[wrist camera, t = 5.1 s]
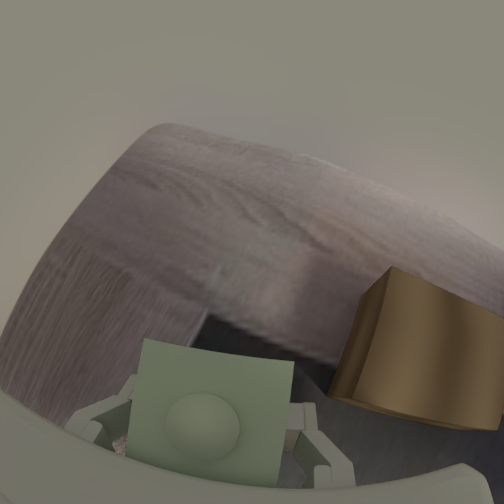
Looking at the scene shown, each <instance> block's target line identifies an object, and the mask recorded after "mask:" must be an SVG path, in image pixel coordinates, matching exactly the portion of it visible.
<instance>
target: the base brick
mask: <svg viewBox="0 0 504 504" xmlns="http://www.w3.org/2000/svg"><path fill="white" fill-rule="evenodd" d="M326 396H327V397H330V398H333V399H336V400H339V401H342V402H345V403H348V404H352V405H355V406H358V407H361V408H365V409H368V410H372V411H375V412H379V413H382V414H386V415H390V416H394V417H398V418H402V419H406V420H410V421H414V422H419V423H424V424H428V425H433V426H438V427H444V428H449V429H457V430H486V431H493V430H498V428H499V424H500V421H501V417H502V413H503V409H504V318H502V317H500V316H498V315H496V314H494V313H492V312H490V311H488V310H486V309H484V308H482V307H480V306H478V305H476V304H473V303H471V302H469V301H467V300H465V299H463V298H461V297H459V296H457V295H455V294H452V293H450V292H448V291H446V290H444V289H442V288H440V287H437V286H435V285H433V284H431V283H429V282H426V281H424V280H422V279H420V278H418V277H415V276H413V275H411V274H409V273H406V272H404V271H402V270H399V269H397V268H395V267H393V266H391V267H390V268H389V269H388V270H387V271H386V272H385V273H384V274H383V275H382V276H381V277H380V278H379V279H378V280H377V281H376V282H375V283H374V284H373V285H372V286H371V287H370V288H369V289H368V290H367V291H366V292H365V293H364V294H363V295H362V297H361V300H360V303H359V307H358V310H357V313H356V316H355V319H354V323H353V326H352V329H351V332H350V335H349V337H348V340H347V343H346V346H345V349H344V352H343V354H342V357H341V360H340V362H339V365H338V368H337V370H336V373H335V375H334V378H333V380H332V383H331V385H330V388H329V390H328V392H327V395H326Z"/></svg>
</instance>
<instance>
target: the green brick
mask: <svg viewBox="0 0 504 504" xmlns="http://www.w3.org/2000/svg"><path fill="white" fill-rule="evenodd" d="M293 370H294V361H284V360H274V359H264V358H256V357H248V356H240V355H233V354H226V353H220V352H214V351H208V350H202V349H196V348H191V347H185V346H180V345H175V344H170V343H166V342H161V341H156V340H152V339H148V338H144V340H143V345H142V350H141V355H140V360H139V365H138V370H137V376H136V382H135V387H134V393H133V400H132V406H131V413H130V420H129V428H128V436H127V444H126V454H125V457H128V458H131V459H134V460H137V461H140V462H142V463H146V464H149V465H152V466H155V467H158V468H162V469H165V470H169V471H173V472H177V473H181V474H185V475H189V476H193V477H198V478H203V479H208V480H213V481H219V482H225V483H232V484H239V485H247V486H257V487H269V488H276V487H277V482H278V476H279V470H280V464H281V458H282V452H283V446H284V439H285V433H286V426H287V418H288V411H289V403H290V396H291V387H292V379H293Z"/></svg>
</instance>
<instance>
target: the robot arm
mask: <svg viewBox="0 0 504 504" xmlns="http://www.w3.org/2000/svg"><path fill="white" fill-rule="evenodd" d="M136 376H137V374H134V373H133V374H132V375H130V377H129V378H128V380H127V381H126V383H125V384H124V386H123V387H122V389H121V390H120V392H119V393H118V395H113V396H110V397H108V398H106V399H103V400H101V401H99V402H96V403H94V404H92V405H89V406H87V407H84V408H82V409H79V410H77V411H75V412H74V414H73V415H72V416H71V418H70V419H69V420H68V422H67V423H66V425H65V426H64V427H63V428H62V427H60V426H58V425H56V424H54V423H53V422H51V421H49V420H48V419H46V418H44V417H43V416H41V415H39V414H38V413H36V412H34V411H33V410H31V409H30V408H28V407H27V406H25V405H24V404H22V403H21V402H19V401H18V400H17V399H15V398H14V397H12V396H11V395H10V394H8V393H7V392H6V391H4V390H3V389H2V388H0V504H494V503H493V499H492V495H491V492H490V489H489V485H488V483H487V480H486V478H485V477H484V476H483V474H481V473H480V472H478V471H477V470H475V469H473V468H472V467H470V466H468V465H466V464H465V463H459V464H455V465H452V466H449V467H446V468H442V469H439V470H436V471H432V472H428V473H425V474H421V475H417V476H412V477H408V478H403V479H399V480H393V481H388V482H382V483H375V484H368V485H360V486H356V483H355V476H354V469H353V463H352V462H351V461H350V460H349V459H348V458H347V457H346V456H345V455H344V454H343V453H342V452H341V451H340V450H339V449H338V448H337V447H336V446H335V445H334V444H333V443H332V442H331V441H330V440H329V438H328V437H327V436H326V435H325V434H324V433H323V432H322V431H318V425H317V414H316V405H315V403H310V402H292V401H290V403H289V411H288V418H287V426H286V433H285V439H284V446H283V452H293V455H294V456H295V458H296V459H297V461H298V462H299V464H300V465H301V467H302V468H303V470H304V471H305V473H306V474H307V475H308V478H307V480H306V481H305V483H304V485H303V486H302V488H301V489H290V488H269V487H257V486H247V485H239V484H232V483H225V482H219V481H213V480H208V479H203V478H198V477H193V476H189V475H185V474H181V473H177V472H173V471H169V470H165V469H162V468H158V467H155V466H152V465H149V464H146V463H142V462H140V461H137V460H134V459H131V458H128V457H125V456H123V455H120V454H118V453H116V452H115V450H114V448H113V446H112V444H111V443H112V442H114V441H115V440H117V439H119V438H120V437H122V436H123V435H125V434H126V433H128V428H129V420H130V413H131V406H132V400H133V393H134V387H135V382H136Z"/></svg>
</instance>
